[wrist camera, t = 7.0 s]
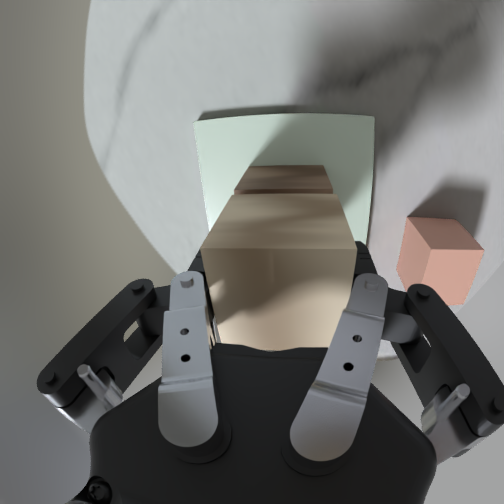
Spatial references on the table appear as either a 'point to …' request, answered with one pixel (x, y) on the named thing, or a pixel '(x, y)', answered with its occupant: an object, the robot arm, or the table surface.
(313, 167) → the cube walnut
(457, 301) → the cube terracotta
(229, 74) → the table surface
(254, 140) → the build plate
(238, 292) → the cube maple
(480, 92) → the table surface
